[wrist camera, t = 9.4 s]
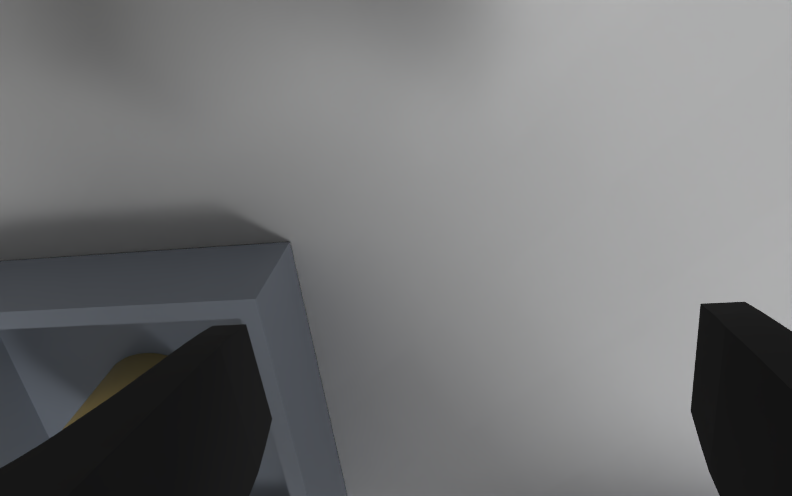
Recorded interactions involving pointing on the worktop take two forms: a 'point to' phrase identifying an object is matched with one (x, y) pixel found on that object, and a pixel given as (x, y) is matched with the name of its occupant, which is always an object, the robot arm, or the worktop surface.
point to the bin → (163, 344)
